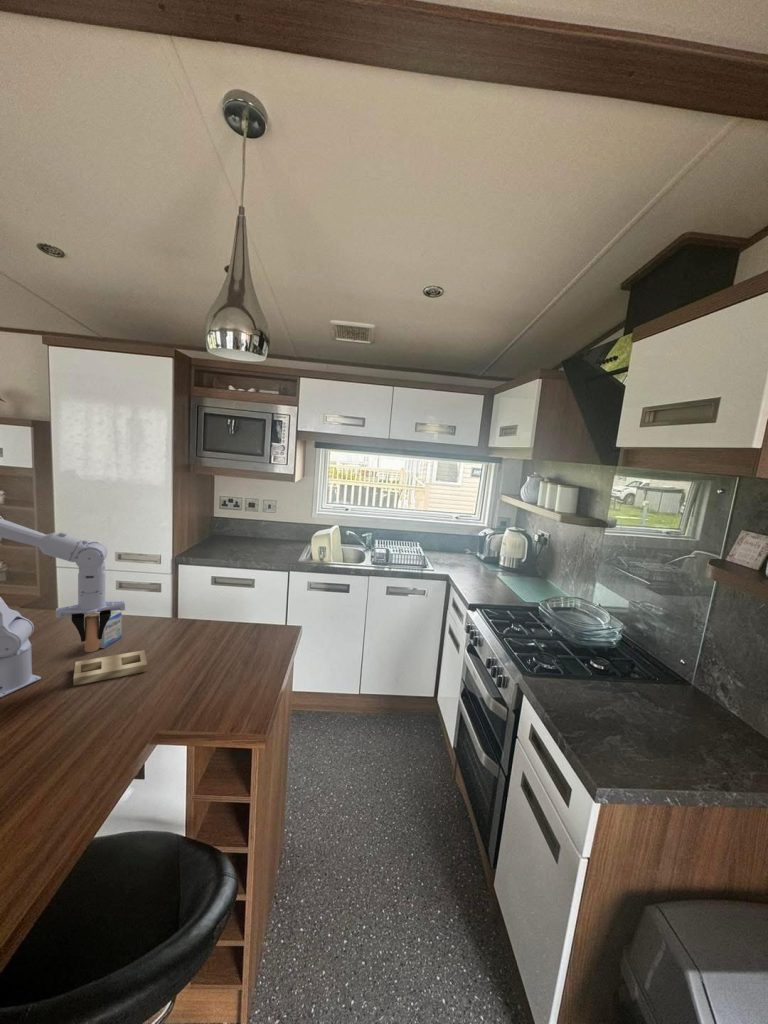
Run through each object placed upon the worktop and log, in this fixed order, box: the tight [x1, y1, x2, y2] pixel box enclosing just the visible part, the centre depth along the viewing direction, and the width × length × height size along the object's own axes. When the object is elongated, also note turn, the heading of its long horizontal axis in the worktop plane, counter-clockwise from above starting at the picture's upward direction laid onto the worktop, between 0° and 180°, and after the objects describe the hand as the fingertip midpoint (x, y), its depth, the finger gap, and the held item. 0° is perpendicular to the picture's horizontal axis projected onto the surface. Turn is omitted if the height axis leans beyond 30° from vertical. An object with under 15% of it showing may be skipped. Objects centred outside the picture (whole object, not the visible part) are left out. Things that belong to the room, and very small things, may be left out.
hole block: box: [73, 649, 148, 686], centre depth 108 cm, size 16×9×2 cm, turn 125°
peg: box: [84, 614, 100, 653], centre depth 104 cm, size 3×3×9 cm
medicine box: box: [98, 610, 123, 649], centre depth 122 cm, size 8×4×9 cm, turn 179°
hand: (91, 638), depth 105 cm, fingers closed on peg, 3 cm apart
